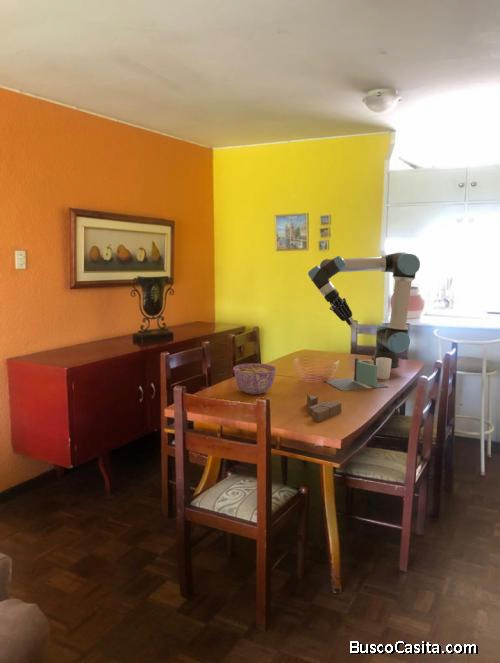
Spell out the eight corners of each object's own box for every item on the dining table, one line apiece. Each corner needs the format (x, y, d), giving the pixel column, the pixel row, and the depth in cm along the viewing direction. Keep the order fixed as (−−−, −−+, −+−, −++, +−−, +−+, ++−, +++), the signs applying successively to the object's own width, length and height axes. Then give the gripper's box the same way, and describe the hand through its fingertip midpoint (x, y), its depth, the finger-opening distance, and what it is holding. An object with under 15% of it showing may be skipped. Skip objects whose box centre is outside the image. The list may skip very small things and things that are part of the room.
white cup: (378, 375, 277) (379, 356, 275) (392, 377, 272) (393, 358, 271) (372, 378, 271) (373, 359, 269) (387, 380, 266) (388, 361, 264)
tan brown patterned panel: (373, 380, 266) (374, 357, 264) (374, 380, 265) (375, 357, 263) (353, 381, 263) (354, 358, 261) (354, 382, 261) (355, 358, 260)
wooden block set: (343, 399, 212) (319, 409, 198) (342, 413, 213) (318, 424, 199) (308, 392, 223) (283, 401, 209) (308, 405, 224) (283, 414, 210)
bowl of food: (268, 400, 229) (268, 374, 227) (226, 395, 236) (226, 370, 234) (281, 389, 248) (281, 365, 246) (242, 385, 255) (242, 362, 253)
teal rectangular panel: (356, 380, 261) (356, 361, 259) (358, 380, 262) (359, 361, 260) (374, 386, 250) (375, 366, 248) (376, 386, 251) (377, 366, 249)
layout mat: (367, 377, 271) (367, 376, 271) (388, 387, 252) (388, 386, 252) (323, 380, 264) (323, 379, 264) (341, 390, 245) (341, 389, 245)
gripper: (331, 291, 283) (357, 326, 282) (318, 300, 274) (344, 336, 272) (340, 284, 278) (366, 320, 276) (326, 293, 269) (353, 330, 267)
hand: (355, 328), depth 274 cm, fingers closed
